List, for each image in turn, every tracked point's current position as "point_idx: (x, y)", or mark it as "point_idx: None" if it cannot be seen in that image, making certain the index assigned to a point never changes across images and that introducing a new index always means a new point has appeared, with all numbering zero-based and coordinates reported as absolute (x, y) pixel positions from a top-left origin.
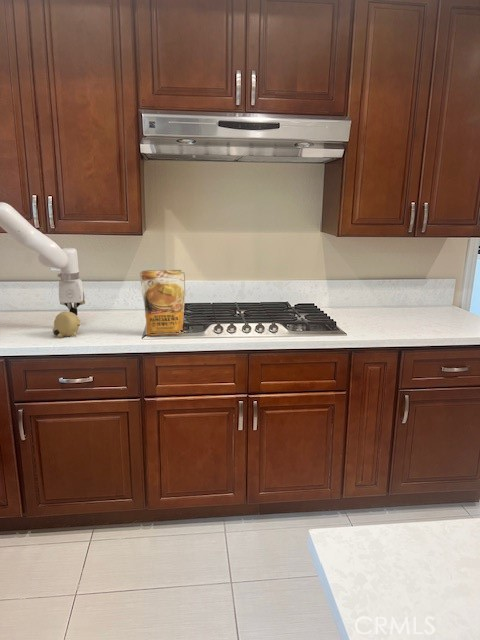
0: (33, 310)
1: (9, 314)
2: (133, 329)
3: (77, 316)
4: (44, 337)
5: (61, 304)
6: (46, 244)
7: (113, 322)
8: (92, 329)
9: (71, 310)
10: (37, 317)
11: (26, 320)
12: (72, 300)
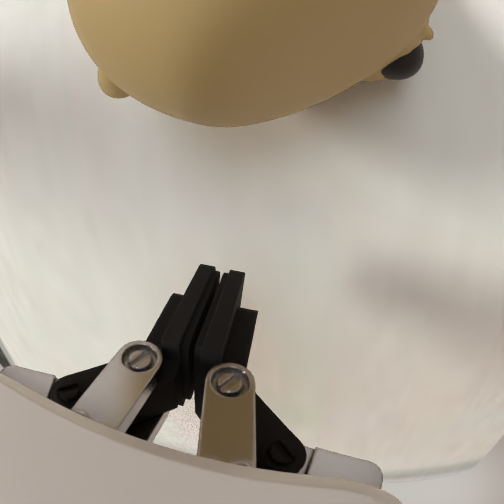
0: (412, 475)
1: (486, 447)
2: None
3: (69, 7)
4: (468, 25)
5: (359, 459)
6: None
7: (52, 299)
8: (104, 173)
9: (209, 335)
10: (429, 435)
11: (479, 407)
12: (68, 466)
